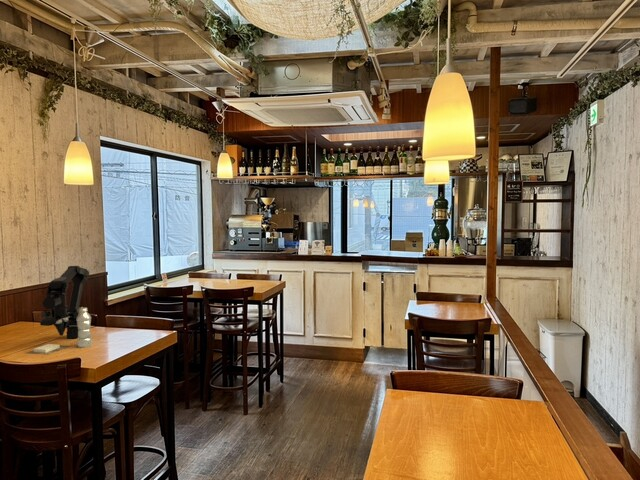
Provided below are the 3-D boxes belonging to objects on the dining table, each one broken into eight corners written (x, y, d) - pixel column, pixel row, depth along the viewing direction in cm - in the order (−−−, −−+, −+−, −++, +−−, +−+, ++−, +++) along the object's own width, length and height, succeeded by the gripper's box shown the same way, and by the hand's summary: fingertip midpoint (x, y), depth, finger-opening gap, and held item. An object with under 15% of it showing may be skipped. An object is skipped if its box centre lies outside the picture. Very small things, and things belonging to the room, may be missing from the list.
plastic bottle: (81, 345, 217) (78, 306, 216) (94, 345, 218) (92, 306, 217) (74, 349, 211) (72, 309, 210) (89, 349, 212) (87, 308, 211)
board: (49, 345, 219) (49, 344, 219) (71, 347, 215) (71, 346, 215) (24, 354, 205) (24, 353, 205) (47, 356, 202) (47, 354, 202)
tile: (48, 344, 214) (33, 348, 206) (59, 344, 212) (45, 349, 205) (48, 347, 214) (33, 352, 206) (59, 348, 212) (45, 353, 205)
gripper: (61, 300, 228) (63, 329, 229) (30, 308, 210) (32, 339, 211) (79, 301, 225) (80, 330, 226) (48, 309, 207) (50, 340, 208)
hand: (61, 335), depth 218 cm, fingers closed
